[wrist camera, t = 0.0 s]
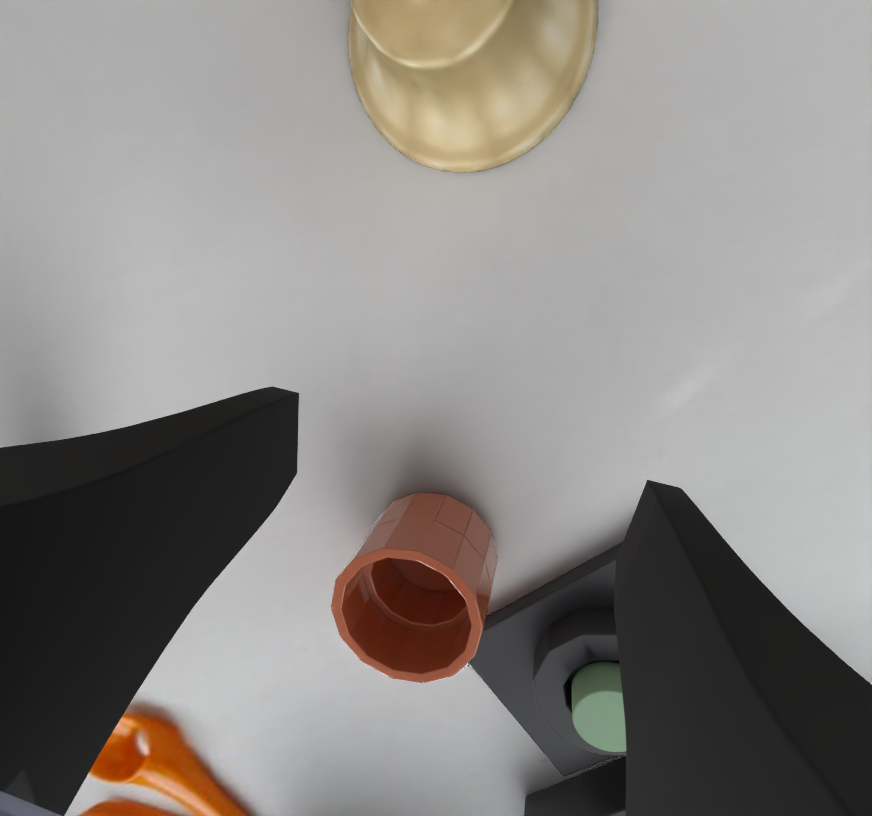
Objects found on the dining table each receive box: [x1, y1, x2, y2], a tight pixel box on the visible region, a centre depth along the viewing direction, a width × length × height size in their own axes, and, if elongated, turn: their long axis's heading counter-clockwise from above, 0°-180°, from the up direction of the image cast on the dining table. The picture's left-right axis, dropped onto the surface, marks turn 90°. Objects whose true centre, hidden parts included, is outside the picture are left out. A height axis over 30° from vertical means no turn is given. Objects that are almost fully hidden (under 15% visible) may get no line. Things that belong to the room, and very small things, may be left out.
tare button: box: [572, 661, 626, 752], centre depth 21 cm, size 3×3×2 cm
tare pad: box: [468, 542, 626, 776], centre depth 22 cm, size 10×8×2 cm
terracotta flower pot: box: [331, 493, 497, 683], centre depth 22 cm, size 5×6×5 cm
